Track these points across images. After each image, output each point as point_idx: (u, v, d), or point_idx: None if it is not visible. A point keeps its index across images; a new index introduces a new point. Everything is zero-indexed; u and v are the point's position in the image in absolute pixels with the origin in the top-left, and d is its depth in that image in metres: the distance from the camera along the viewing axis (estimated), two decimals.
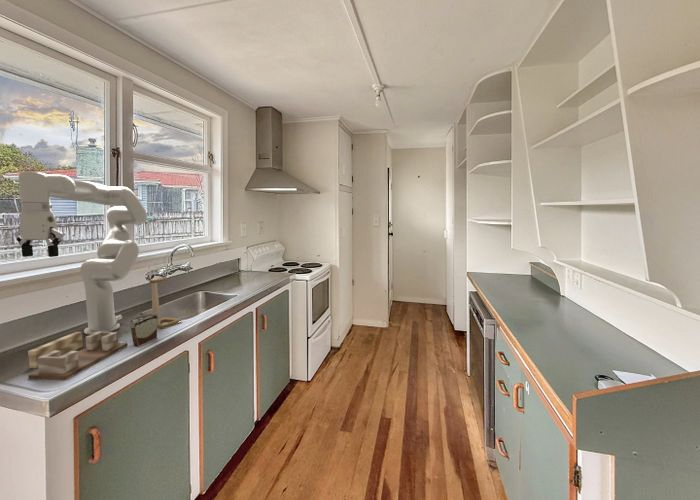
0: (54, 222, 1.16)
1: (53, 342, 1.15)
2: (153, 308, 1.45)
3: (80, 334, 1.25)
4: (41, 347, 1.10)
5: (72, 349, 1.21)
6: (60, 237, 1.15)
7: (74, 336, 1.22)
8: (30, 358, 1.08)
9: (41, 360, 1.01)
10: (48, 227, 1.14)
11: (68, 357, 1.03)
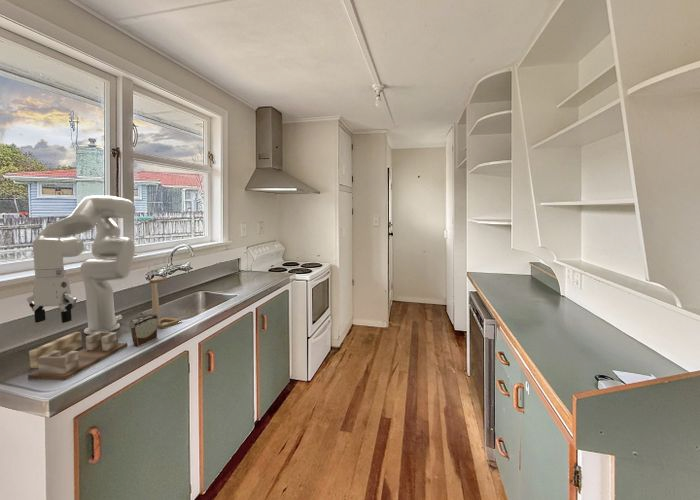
0: (67, 287, 1.15)
1: (53, 342, 1.15)
2: (153, 308, 1.45)
3: (79, 334, 1.25)
4: (42, 347, 1.10)
5: (72, 349, 1.21)
6: (74, 302, 1.14)
7: (73, 336, 1.22)
8: (31, 358, 1.08)
9: (41, 360, 1.01)
10: (62, 293, 1.13)
11: (68, 357, 1.03)
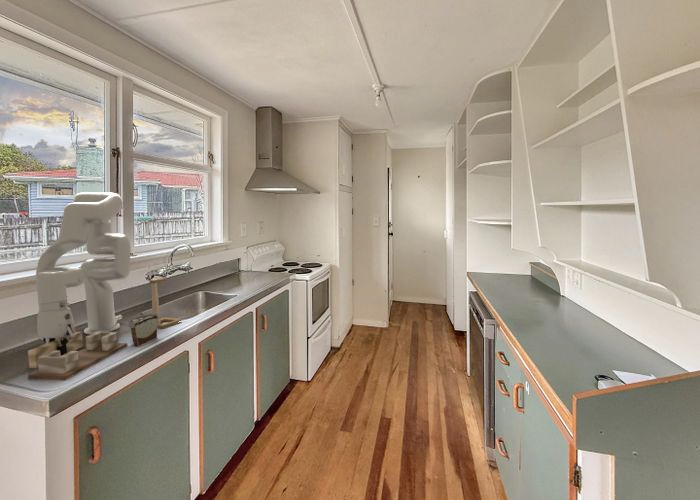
0: (71, 318, 1.16)
1: (53, 342, 1.15)
2: (153, 308, 1.45)
3: (80, 334, 1.25)
4: (41, 347, 1.10)
5: (72, 349, 1.21)
6: None
7: None
8: (30, 358, 1.08)
9: (41, 360, 1.01)
10: (65, 325, 1.14)
11: (68, 357, 1.03)
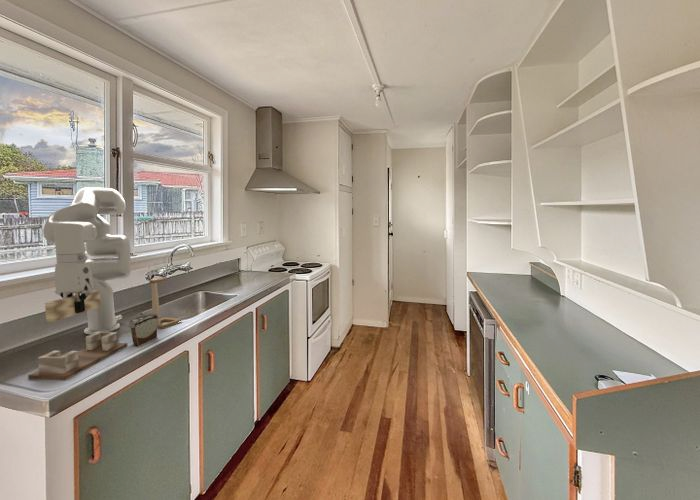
0: (89, 273, 1.11)
1: (70, 297, 1.09)
2: (153, 308, 1.45)
3: (98, 293, 1.19)
4: (58, 300, 1.05)
5: (90, 307, 1.16)
6: None
7: (92, 294, 1.17)
8: (47, 310, 1.02)
9: (41, 360, 1.01)
10: (84, 279, 1.09)
11: (68, 357, 1.03)
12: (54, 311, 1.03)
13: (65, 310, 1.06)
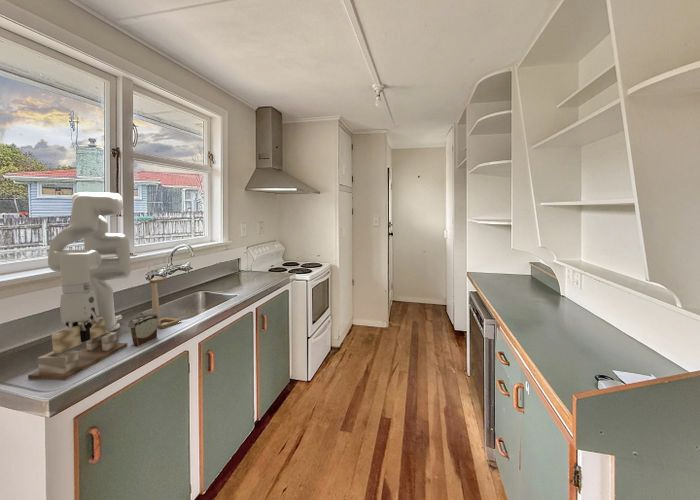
0: (95, 302, 1.12)
1: (76, 326, 1.10)
2: (153, 308, 1.45)
3: (103, 320, 1.20)
4: (65, 331, 1.06)
5: (95, 335, 1.17)
6: None
7: None
8: (54, 342, 1.03)
9: (41, 360, 1.01)
10: (89, 308, 1.10)
11: (68, 357, 1.03)
12: (61, 342, 1.04)
13: (71, 340, 1.07)
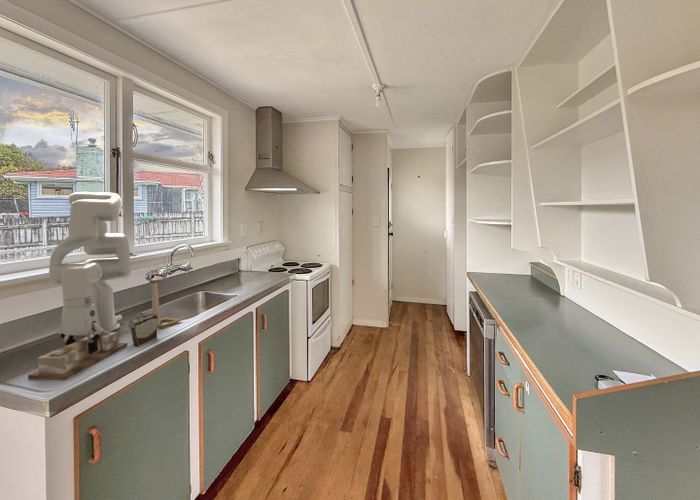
0: (96, 315, 1.13)
1: (78, 342, 1.11)
2: (153, 308, 1.45)
3: (104, 334, 1.21)
4: (66, 347, 1.07)
5: None
6: (101, 334, 1.12)
7: None
8: None
9: (41, 360, 1.01)
10: (91, 322, 1.11)
11: (68, 357, 1.03)
12: None
13: None
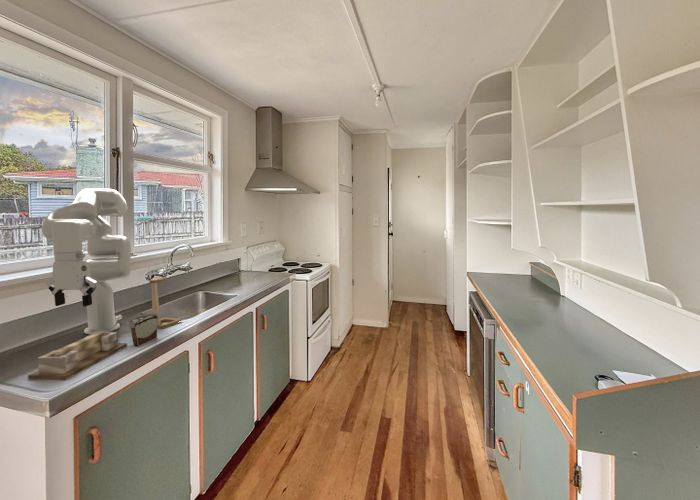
0: (87, 270, 1.13)
1: (78, 342, 1.11)
2: (153, 308, 1.45)
3: (104, 334, 1.21)
4: (66, 347, 1.07)
5: (96, 349, 1.18)
6: (94, 286, 1.12)
7: (98, 336, 1.18)
8: None
9: (41, 360, 1.01)
10: (82, 277, 1.11)
11: (68, 357, 1.03)
12: None
13: None
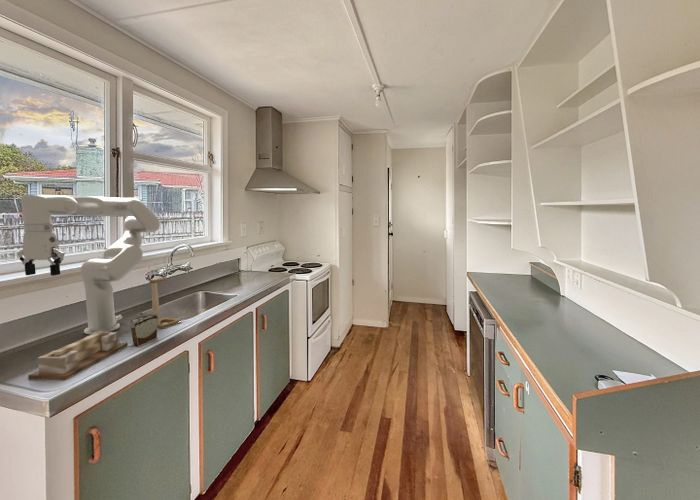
0: (56, 242, 1.21)
1: (78, 342, 1.11)
2: (153, 308, 1.45)
3: (104, 334, 1.21)
4: (66, 347, 1.07)
5: (96, 349, 1.18)
6: (62, 256, 1.20)
7: (98, 336, 1.18)
8: None
9: (41, 360, 1.01)
10: (50, 247, 1.19)
11: (68, 357, 1.03)
12: None
13: None
